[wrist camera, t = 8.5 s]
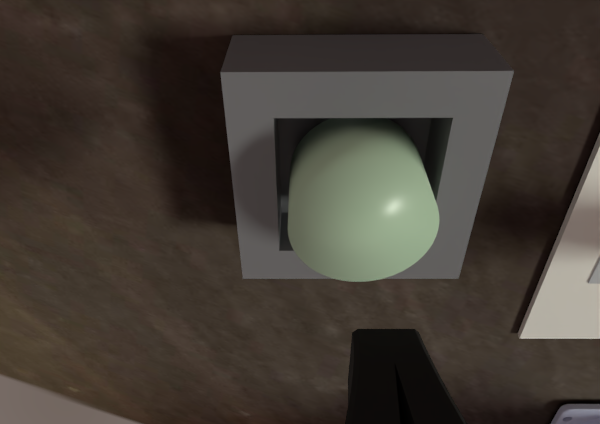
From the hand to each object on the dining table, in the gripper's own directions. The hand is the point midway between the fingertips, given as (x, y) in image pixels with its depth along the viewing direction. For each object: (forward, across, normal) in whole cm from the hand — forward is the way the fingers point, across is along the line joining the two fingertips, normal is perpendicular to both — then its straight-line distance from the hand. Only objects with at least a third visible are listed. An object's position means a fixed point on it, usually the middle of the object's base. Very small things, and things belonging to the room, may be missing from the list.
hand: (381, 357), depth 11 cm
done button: (+7, 0, 0) cm, 7 cm away
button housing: (+9, 0, 0) cm, 9 cm away
